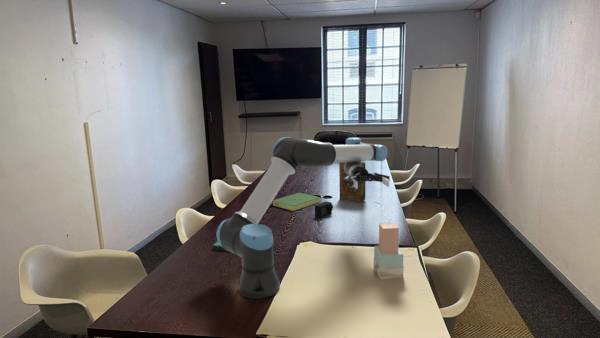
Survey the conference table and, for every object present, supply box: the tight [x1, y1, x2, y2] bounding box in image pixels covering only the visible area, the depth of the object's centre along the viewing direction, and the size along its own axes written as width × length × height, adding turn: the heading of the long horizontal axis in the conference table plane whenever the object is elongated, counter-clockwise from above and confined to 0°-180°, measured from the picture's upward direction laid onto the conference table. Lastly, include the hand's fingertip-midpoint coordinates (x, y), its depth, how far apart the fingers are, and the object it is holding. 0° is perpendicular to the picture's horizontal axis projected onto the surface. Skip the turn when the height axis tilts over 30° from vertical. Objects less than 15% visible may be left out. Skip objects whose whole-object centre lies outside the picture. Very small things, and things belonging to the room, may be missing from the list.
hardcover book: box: [271, 192, 321, 212], centre depth 254 cm, size 25×19×4 cm
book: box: [338, 161, 366, 203], centre depth 256 cm, size 16×6×25 cm, turn 58°
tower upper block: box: [373, 245, 404, 267], centre depth 156 cm, size 9×9×5 cm
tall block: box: [378, 222, 400, 254], centre depth 154 cm, size 6×6×10 cm
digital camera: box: [314, 200, 334, 219], centre depth 229 cm, size 10×5×7 cm, turn 139°
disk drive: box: [212, 241, 228, 252], centre depth 188 cm, size 10×3×15 cm
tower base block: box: [373, 257, 405, 280], centre depth 157 cm, size 9×9×5 cm
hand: (372, 184), depth 167 cm, fingers open, 13 cm apart
